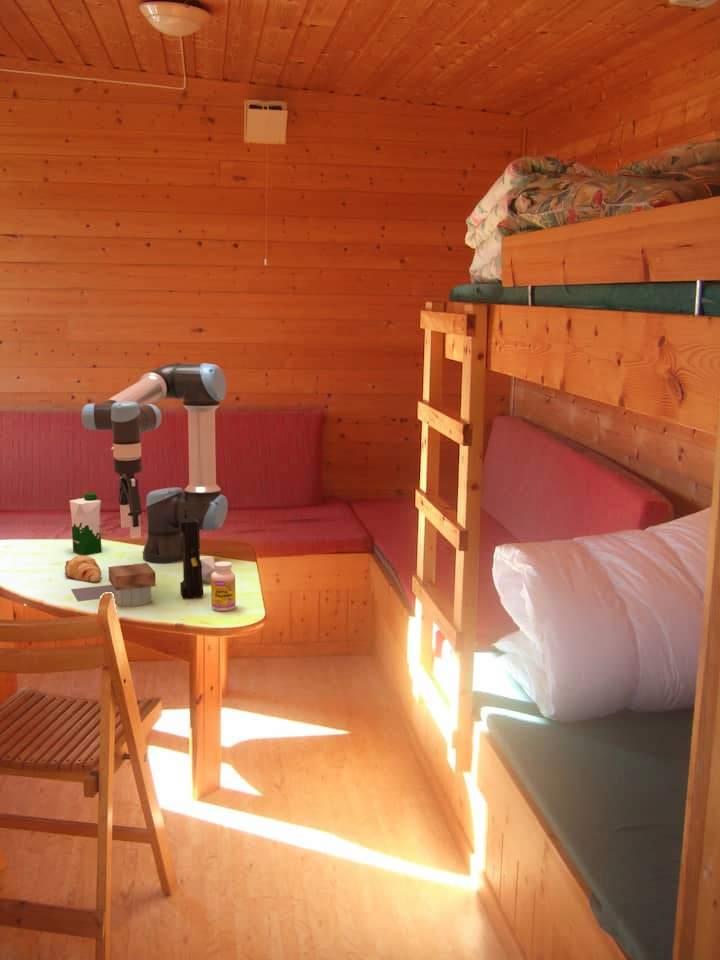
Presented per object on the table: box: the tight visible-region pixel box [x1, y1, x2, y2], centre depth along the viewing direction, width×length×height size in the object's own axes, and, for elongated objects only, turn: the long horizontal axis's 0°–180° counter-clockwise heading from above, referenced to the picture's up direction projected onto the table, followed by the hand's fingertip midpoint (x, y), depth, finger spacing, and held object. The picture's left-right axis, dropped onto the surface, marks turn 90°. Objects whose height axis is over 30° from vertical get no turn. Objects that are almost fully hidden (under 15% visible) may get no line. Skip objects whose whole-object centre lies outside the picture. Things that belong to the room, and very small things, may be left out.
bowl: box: [113, 587, 152, 607], centre depth 278 cm, size 10×10×5 cm
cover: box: [108, 562, 157, 591], centre depth 277 cm, size 11×11×4 cm
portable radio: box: [179, 509, 205, 599], centre depth 282 cm, size 8×6×25 cm
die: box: [200, 555, 217, 584], centre depth 298 cm, size 8×9×10 cm
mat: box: [71, 584, 114, 602], centre depth 286 cm, size 13×13×1 cm
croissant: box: [64, 554, 102, 583], centre depth 304 cm, size 21×10×8 cm, turn 41°
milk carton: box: [69, 492, 103, 556], centre depth 332 cm, size 9×9×20 cm
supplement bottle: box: [210, 561, 236, 612], centre depth 272 cm, size 7×7×13 cm
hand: (130, 532), depth 275 cm, fingers open, 13 cm apart
